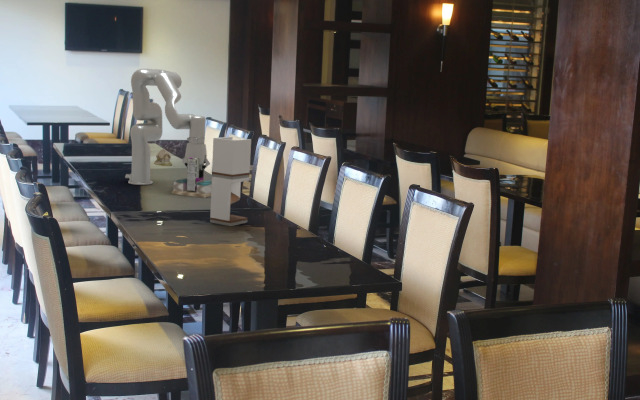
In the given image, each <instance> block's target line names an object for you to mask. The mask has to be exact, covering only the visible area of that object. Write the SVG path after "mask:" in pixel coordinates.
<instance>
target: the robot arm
mask: <svg viewBox="0 0 640 400" xmlns="http://www.w3.org/2000/svg"><path fill="white" fill-rule="evenodd" d="M130 78H131V79H130V83H131V85H130V86H131V91H132V114H133V118H134V119H135V120H136V121H142V122H141V123H135V124H134V125H132V126H131V128H130V132H129V133H130V134H129V135H130V140H131V173H126V174H125V176H124V178H125V179H129V180H128V184H129V185H134V186H135V185H137V186H147V185H153V183H154V182H153V181H152V180H151V147H150V145H149V143H148V142H156V141H159V140H160V139H161V138H162V136H163V110H162V107H161V106H160V104H159V103H157V102H152V101H151V102H150V92H149V89H148V88H147V87H146V86H151V87H157V89H158V91H159V92H160V94H161V96H162V98H163V99H164V101H165V105H164V114H165V117H166V119H167V121H168V122H169V124H170V125H171V127H172V128H173V129H175V130H189V132H188V133H189V134H188V135H189V136H188V137H187V138H186V141H188V142H187V143H186V147H185V155H184V158H183V159H182V160H181V163H183V164H184V166H185V167H186V169H187V168H188V158H198V164H199V166H200V170H199V178H203V175H204V173H205V169H206V168H208V166H210V165H211V162H210V161H209V159H208V157H207V156H208V153H207V152H208V151H207V146H206V144H205V141H206V140H205V139H206V138H205V136H206V134H205V133H206V117H205V116H202V115H195V114H193V113H179V112H178V111H177V109H176V107H175V104H177V103H178V102H179V101H180V100H181V99H182V94H181V92H180V91H179V88H180V87H181V86H182V83H183V82H182V78H181V76H180V75H179V74H178V73H177V72H174V71H169V70H164V69H157V68H139V69H137V70H134V72H133V74H132V76H131V77H130ZM144 121H147V122H145V123H144ZM204 176H205V175H204ZM203 179H204V178H203Z"/></svg>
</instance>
